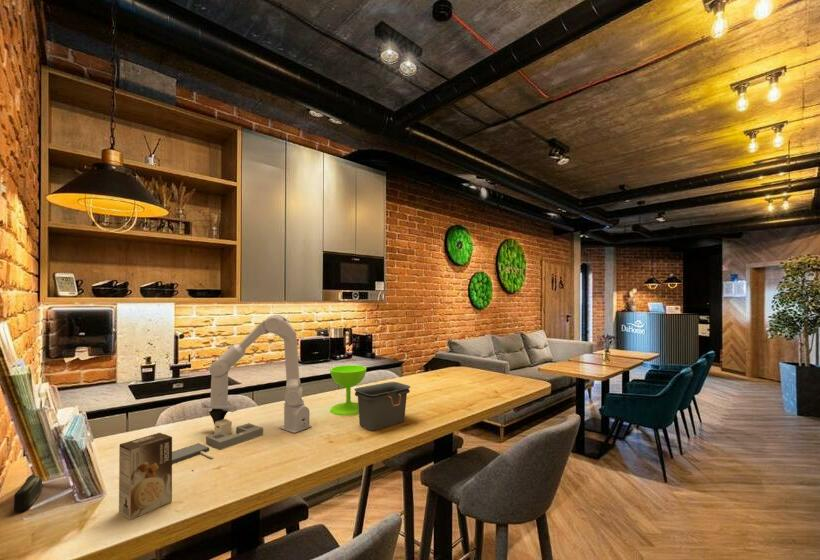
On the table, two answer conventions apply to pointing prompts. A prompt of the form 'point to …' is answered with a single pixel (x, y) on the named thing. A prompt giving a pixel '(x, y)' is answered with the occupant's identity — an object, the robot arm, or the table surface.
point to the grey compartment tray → (234, 436)
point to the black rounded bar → (27, 493)
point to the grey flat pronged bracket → (190, 452)
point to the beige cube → (223, 426)
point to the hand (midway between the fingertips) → (218, 429)
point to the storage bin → (381, 404)
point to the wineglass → (347, 387)
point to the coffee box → (145, 474)
